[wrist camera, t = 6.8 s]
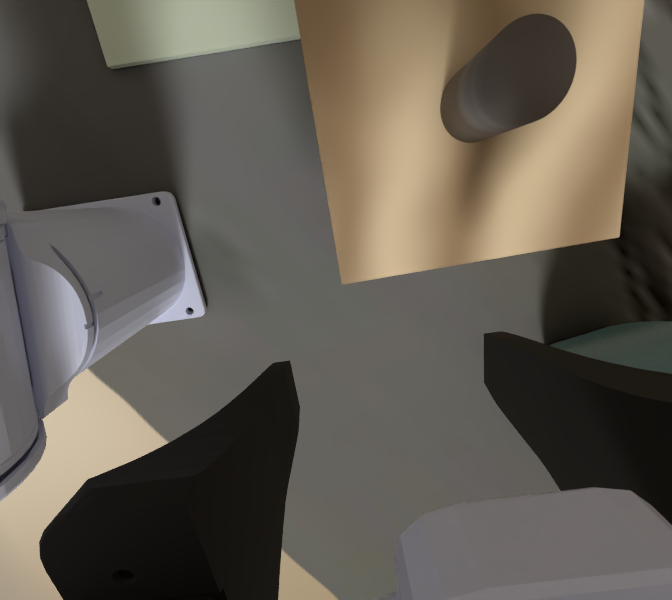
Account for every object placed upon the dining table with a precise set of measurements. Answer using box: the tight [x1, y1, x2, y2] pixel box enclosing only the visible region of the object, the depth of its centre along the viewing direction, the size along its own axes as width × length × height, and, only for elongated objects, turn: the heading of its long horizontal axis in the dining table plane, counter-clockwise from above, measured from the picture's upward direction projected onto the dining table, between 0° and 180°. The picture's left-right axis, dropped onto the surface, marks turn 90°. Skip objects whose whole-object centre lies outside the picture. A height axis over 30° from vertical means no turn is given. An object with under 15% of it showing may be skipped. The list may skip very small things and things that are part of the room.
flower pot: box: [549, 321, 672, 374], centre depth 20 cm, size 9×9×9 cm
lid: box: [294, 0, 644, 284], centre depth 13 cm, size 14×14×5 cm
